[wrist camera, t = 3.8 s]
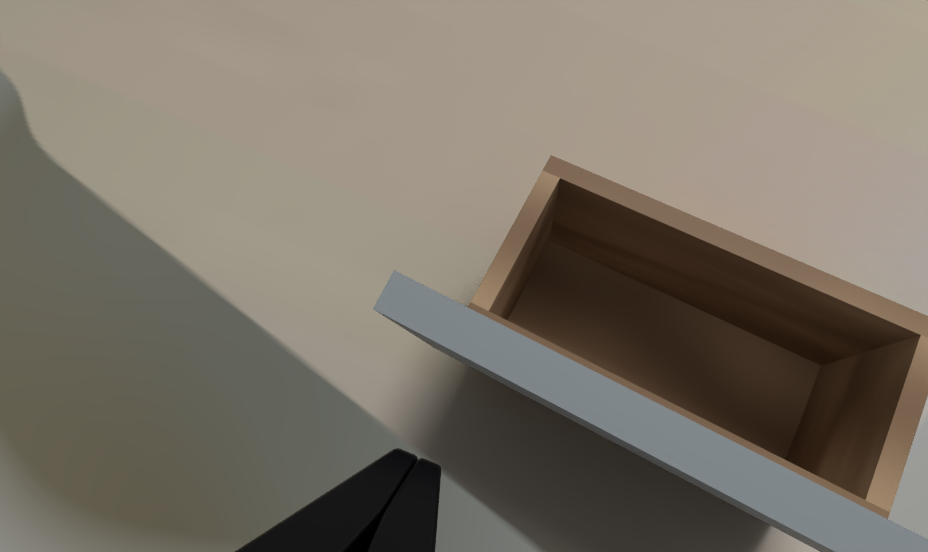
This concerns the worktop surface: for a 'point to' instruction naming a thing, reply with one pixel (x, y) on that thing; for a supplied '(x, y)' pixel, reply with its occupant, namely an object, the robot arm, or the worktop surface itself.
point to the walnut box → (716, 330)
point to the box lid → (644, 425)
